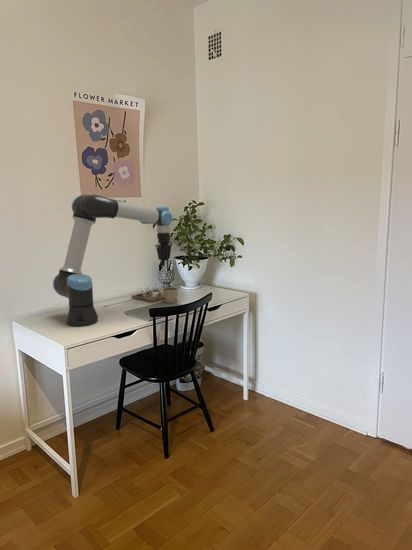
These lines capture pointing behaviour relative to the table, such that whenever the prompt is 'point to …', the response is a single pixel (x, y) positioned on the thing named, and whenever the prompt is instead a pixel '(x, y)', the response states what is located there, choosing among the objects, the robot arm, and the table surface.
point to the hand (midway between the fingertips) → (164, 270)
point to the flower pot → (170, 294)
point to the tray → (148, 298)
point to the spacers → (151, 292)
